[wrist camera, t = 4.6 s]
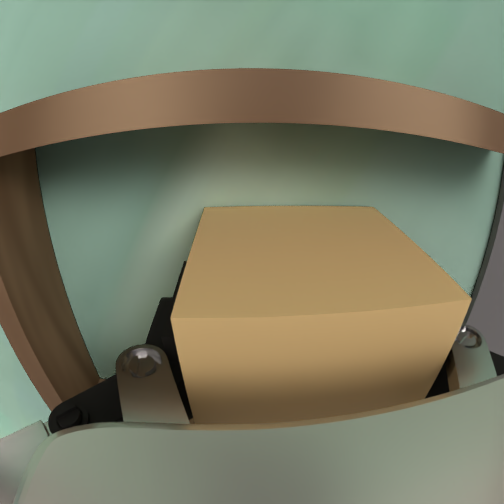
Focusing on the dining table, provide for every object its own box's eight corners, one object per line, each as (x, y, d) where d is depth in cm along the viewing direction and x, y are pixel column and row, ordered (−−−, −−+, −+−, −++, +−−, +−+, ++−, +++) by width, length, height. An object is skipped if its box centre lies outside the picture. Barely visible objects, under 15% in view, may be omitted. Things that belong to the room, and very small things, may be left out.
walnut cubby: (494, 121, 9) (553, 136, 6) (425, 376, 15) (448, 419, 12) (11, 121, 8) (-50, 135, 5) (88, 389, 15) (70, 437, 12)
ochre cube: (373, 207, 11) (472, 298, 5) (349, 335, 13) (393, 446, 8) (204, 207, 10) (170, 317, 5) (215, 341, 13) (207, 466, 8)
